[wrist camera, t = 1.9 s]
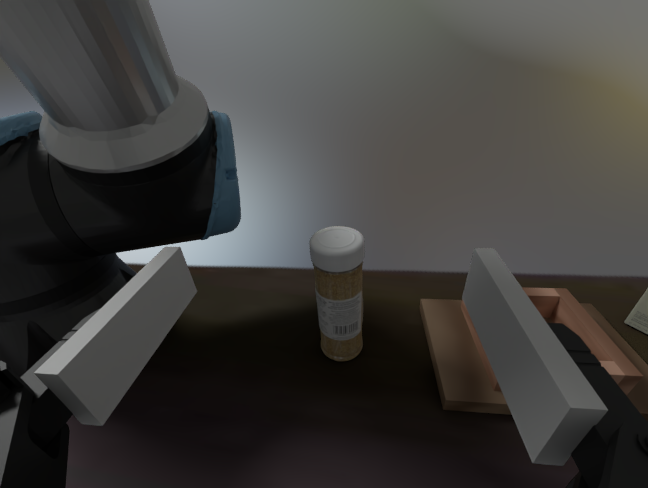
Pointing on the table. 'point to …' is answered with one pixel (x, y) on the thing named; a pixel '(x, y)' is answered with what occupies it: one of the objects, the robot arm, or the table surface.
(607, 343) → the collar plate
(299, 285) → the table surface
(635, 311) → the skincare box
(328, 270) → the sprinkles bottle
